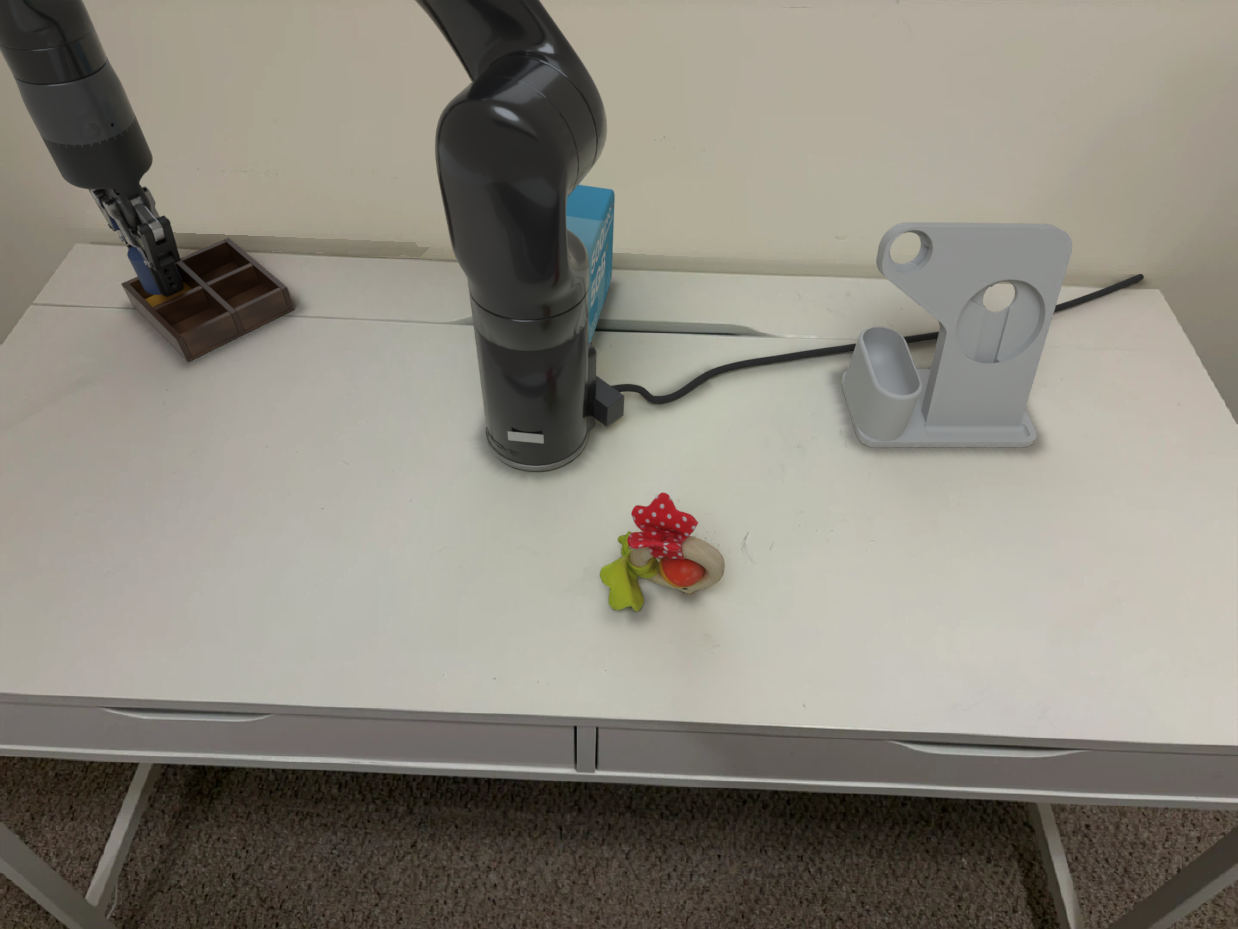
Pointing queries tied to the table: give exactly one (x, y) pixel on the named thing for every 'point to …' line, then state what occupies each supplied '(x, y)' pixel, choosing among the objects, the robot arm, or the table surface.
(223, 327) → the grid
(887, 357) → the phone holder
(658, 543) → the bird rattle
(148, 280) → the blue cylinder
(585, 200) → the data package
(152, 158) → the robot arm
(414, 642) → the table surface
